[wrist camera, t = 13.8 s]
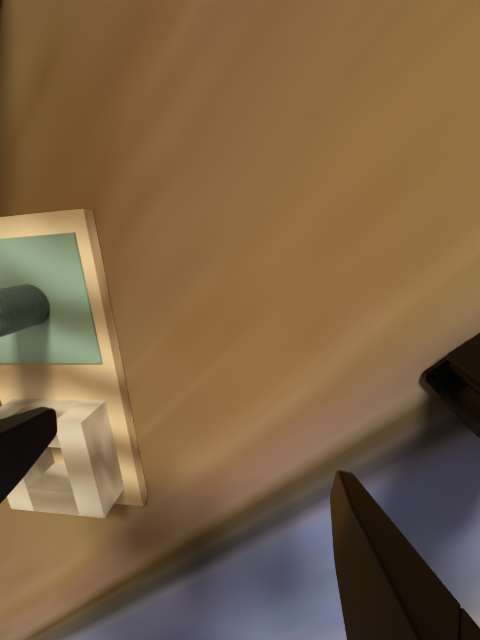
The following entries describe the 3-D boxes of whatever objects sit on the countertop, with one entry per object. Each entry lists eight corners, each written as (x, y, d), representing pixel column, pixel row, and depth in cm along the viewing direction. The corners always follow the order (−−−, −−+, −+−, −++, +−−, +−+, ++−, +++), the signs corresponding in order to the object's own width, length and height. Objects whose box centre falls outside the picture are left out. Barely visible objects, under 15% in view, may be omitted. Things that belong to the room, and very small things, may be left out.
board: (147, 497, 27) (125, 538, 23) (40, 487, 29) (3, 524, 25) (92, 210, 20) (48, 203, 17) (-43, 223, 22) (-110, 220, 19)
